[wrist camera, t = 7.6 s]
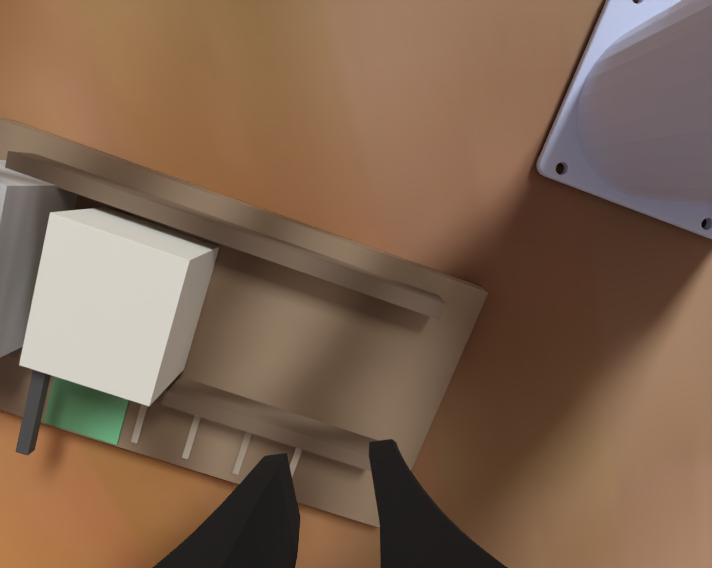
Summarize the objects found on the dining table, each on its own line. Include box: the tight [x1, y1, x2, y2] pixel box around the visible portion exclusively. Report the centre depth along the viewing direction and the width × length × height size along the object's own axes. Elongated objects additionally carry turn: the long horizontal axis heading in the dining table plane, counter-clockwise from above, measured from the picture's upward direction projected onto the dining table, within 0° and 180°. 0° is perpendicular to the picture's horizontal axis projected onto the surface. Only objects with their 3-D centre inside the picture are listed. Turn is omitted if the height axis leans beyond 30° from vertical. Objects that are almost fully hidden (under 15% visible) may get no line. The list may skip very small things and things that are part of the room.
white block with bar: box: [16, 207, 219, 455], centre depth 18 cm, size 5×10×4 cm, turn 160°
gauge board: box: [0, 118, 489, 528], centre depth 19 cm, size 22×13×5 cm, turn 70°
